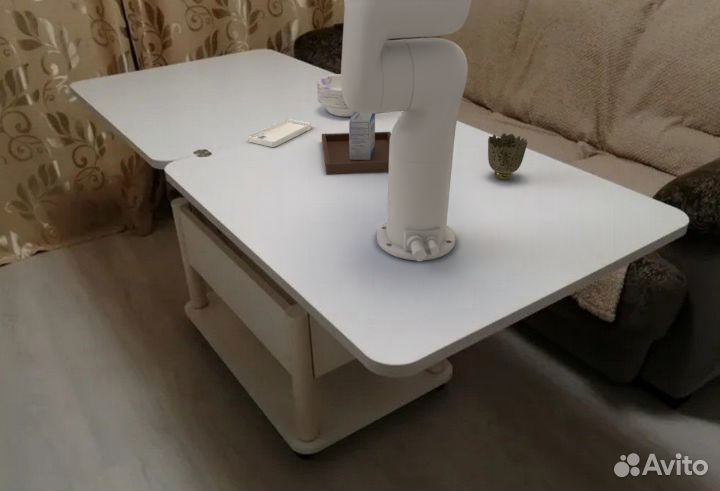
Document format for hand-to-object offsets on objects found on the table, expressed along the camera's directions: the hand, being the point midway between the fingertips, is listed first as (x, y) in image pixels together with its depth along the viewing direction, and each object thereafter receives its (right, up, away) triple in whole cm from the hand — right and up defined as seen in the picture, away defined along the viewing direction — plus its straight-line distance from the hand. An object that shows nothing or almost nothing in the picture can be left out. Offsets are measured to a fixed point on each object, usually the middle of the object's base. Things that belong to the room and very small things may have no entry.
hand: (357, 56), depth 118 cm
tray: (+1, -19, +9) cm, 21 cm away
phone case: (-18, -12, +21) cm, 30 cm away
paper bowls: (-3, -3, +36) cm, 36 cm away
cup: (+29, -24, 0) cm, 38 cm away
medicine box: (+1, -18, +9) cm, 20 cm away
